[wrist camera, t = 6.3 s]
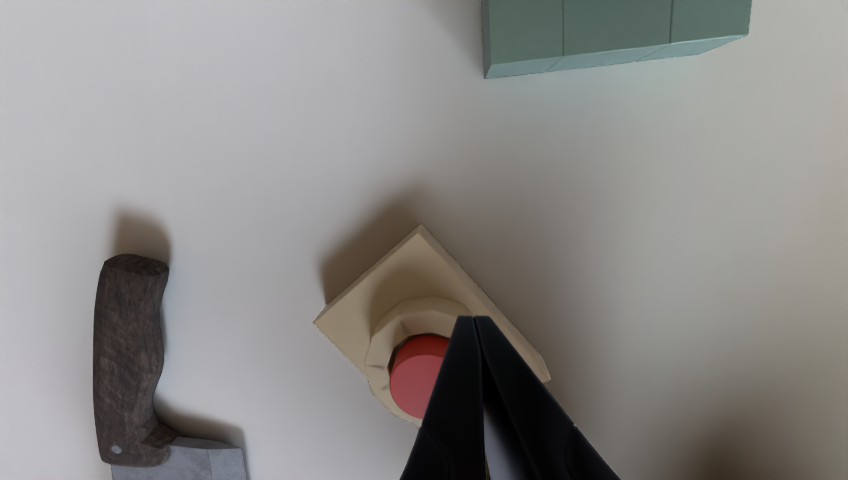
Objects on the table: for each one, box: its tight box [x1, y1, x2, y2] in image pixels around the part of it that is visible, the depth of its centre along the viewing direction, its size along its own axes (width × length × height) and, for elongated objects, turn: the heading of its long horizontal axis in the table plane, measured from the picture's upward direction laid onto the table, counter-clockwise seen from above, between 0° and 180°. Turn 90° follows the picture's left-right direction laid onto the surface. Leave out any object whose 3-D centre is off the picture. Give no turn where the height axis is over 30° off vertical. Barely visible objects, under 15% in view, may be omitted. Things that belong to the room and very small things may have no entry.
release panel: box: [313, 224, 551, 429], centre depth 20 cm, size 11×8×4 cm
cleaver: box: [93, 254, 246, 480], centre depth 24 cm, size 29×10×2 cm, turn 174°
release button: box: [389, 335, 449, 419], centre depth 17 cm, size 4×4×2 cm
